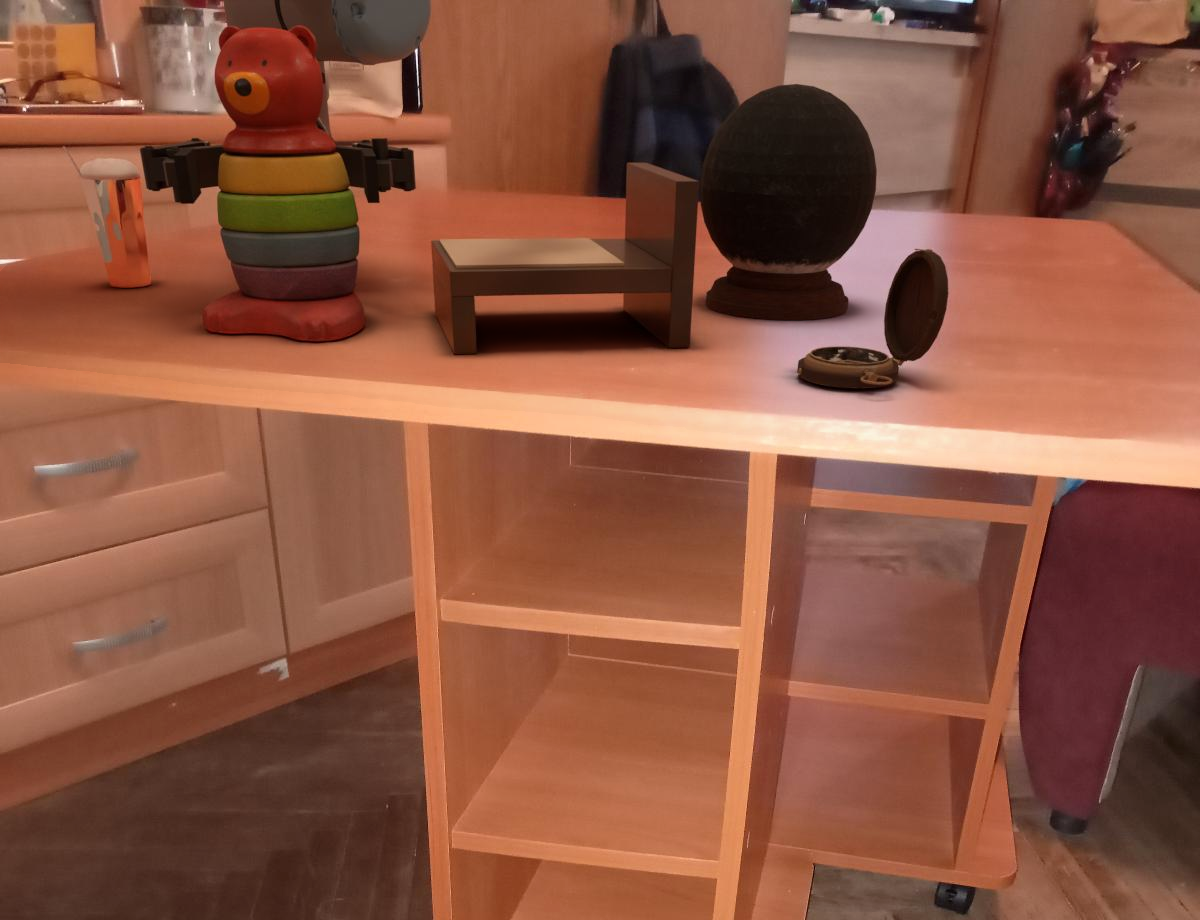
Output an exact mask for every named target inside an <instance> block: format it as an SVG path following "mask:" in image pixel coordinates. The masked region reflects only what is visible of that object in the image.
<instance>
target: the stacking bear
mask: <svg viewBox="0 0 1200 920" xmlns="http://www.w3.org/2000/svg"><path fill="white" fill-rule="evenodd" d="M218 46H219V50H220V51H219V54H218V56H217V58H216V62H215V66H214V85H215V89H216V93H217V95H218V98H219V101H220V102H221V104H222V106H223V108H224V110H225V112H226V113H227V115H228V116H229V119H231V120H232V121H233V123H234V125H235V127H234V129H232V130H230V131H229V132H228V133H227V134H226V135H225V138H224V139H223V141H222V144H221V145H222V147H223V149H224V151H225V152H226V153H224V154H222V155H221V156H220V160H219V170H218V186H217V187H218V189H219V191H218V193H217V195H216V197H217V198H216V207H217V209H216V210H217V222H218V225H219V226H220V227H221V228H220V232H219V233H220V237H221V241H222V245H223V248H224V252H225V255H226V257H227V259H228V260H229V261H230V267H231V269H232V274H233V276H234V279H235V282H236V284H237V286H238V288H239V289H238V290H236V291H233V292H230V293H228V294H225V295H222V296H221V297H218V298H217V299H215V300H213V301H212V302H210V303H209V304H207V305H206V306H205V307H204V309H203V312H202V325H203V326H204V328H205V329H207V331H209V332H213V333H218V334H219V333H220V334H231V335H232V334H234V335H235V334H237V335H238V334H264V335H274V336H275V335H276V336H281V337H282V336H283V337H286V338H290V339H293V340H297V341H306V342H331V341H335V340H342V339H346V338H348V337H351V336H352V335H354V334H357V332H359V331H360V330H362V329H364V326H365V325H366V314H365V309H364V307H363V304H362V301H361V299H360V298H359V296H358V294H357V293H356V292H355V288H356V284H357V278H358V270H359V269H358V268H359V265H358V264H359V261H358V258H357V257H358V256H359V254H360V238H361V237H360V233H361V232H360V227H359V225H358V223H359V219H360V218H359V213H358V208H357V203H356V200H355V195H354V193H353V191H352V190H351V189H350V188H349V187H351V186H350V183H349V179H348V175H347V171H346V168H345V165H344V162H343V160H342V157H341V155H340V154H339V153H337V152H335V149H336V145H337V143H336V142H335V140H334V139H333V140H334V141H333V140H332V138H333V137H332V138H331V137H330V136H329V135H328V134H327V133H326V132H325V131H323V130H321V129H319V128H318V127H317V125H316V122H317V120H318V117H319V114H320V111H321V107H322V102H323V78H322V73H321V69H320V66H319V63H318V61H317V59H316V57H315V53H316V50H317V43H316V39H315V37H314V35H313V34H312V32H311V31H310V30H309V29H308V28H306V27H304V26H300V25H297V26H294V27H292V28H291V29H290V30H288V31H286V30H282V29H277V28H263V27H255V28H247V29H243V30H241V29H239V28H237V27H235V26H227V25H226V26H225V27H224V28H223V29H222V31H221V32H220V34H219V35H218ZM334 142H335V143H334Z"/></svg>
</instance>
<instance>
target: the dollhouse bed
mask: <svg viewBox="0 0 1200 920" xmlns="http://www.w3.org/2000/svg"><path fill="white" fill-rule="evenodd" d="M625 181H626V183H625V184H626V185H625V188H626V189H625V220H624V222H625V223H624V227H625V228H624V238H589V237H543V238H542V237H530V238H527V237H526V238H525V237H521V238H520V237H519V238H517V237H516V238H439V239H437V240H436V239H435V240H431V241H430V243H431V244H430V247H431V248H430V249H431V262H432V264H431V265H432V266H431V267H432V282H433V300H434V314H435V315H436V318H437V320H438V322H439V324H440V327H441V329H442V331H443V333H444V335H445V338H446V339H447V342H448V344H449V346H450V348H451V350H452V352H453V354H454V355H475V354H477V353H478V350H477V347H478V346H477V328H476V327H477V325H476V322H477V321H476V301H475V300H476V298H475V297H491V296H492V297H497V296H498V297H499V296H500V297H502V296H550V295H553V296H554V295H559V296H560V295H603V294H606V295H607V294H609V295H610V294H622V295H623V297H622V298H623V299H622V300H623V301H622V310H624V312H625V313H627V314H628V315H629V316H630V317H631V318H633V319H634V320H635V321H636V322H637V323H639V324H640V325H641V326H642V327H643V328H644V329H646V330H647V331H648V332H649V333H650V334H652V336H654V337H655V338H657V339H658V340H659V341H660V342H661V343H663V345H665V347H667V348H668V349H686V348H687V349H688V348H690V347H691V333H692V332H691V331H692V318H693V317H692V313H693V297H694V280H695V263H696V247H697V246H696V245H697V229H698V228H697V226H698V212H699V211H698V210H699V209H698V208H699V195H700V181H699V180H697V179H693V178H691V177H688V176H685V175H682V174H679V173H676V172H674V171H671V170H668V169H665V168H663V167H660V166H657V165H653V164H651V163H648V162H626V179H625Z"/></svg>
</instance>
